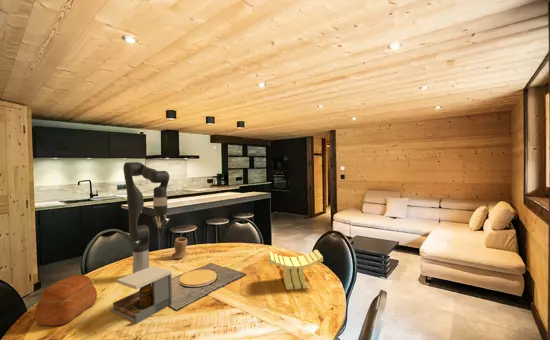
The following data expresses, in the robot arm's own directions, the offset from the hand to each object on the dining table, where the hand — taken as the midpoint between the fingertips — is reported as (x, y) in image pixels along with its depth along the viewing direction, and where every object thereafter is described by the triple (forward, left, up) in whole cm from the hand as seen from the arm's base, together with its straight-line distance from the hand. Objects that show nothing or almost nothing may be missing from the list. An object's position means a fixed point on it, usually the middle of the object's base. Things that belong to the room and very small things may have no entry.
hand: (161, 233), depth 154 cm
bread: (-18, -40, -32) cm, 54 cm away
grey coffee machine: (+10, -20, -32) cm, 39 cm away
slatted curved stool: (+68, +41, -32) cm, 86 cm away
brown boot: (-33, +42, -32) cm, 62 cm away
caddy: (+9, -20, -32) cm, 39 cm away
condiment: (+10, -18, -32) cm, 38 cm away
